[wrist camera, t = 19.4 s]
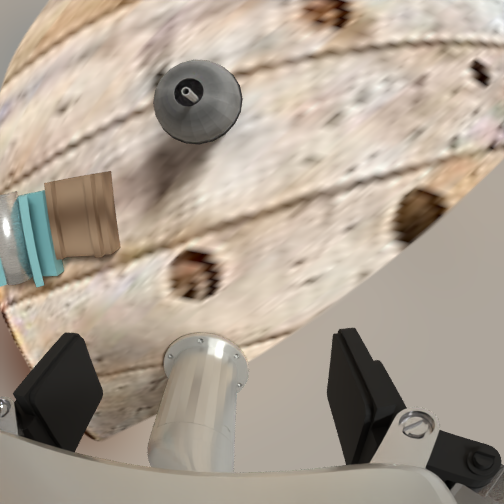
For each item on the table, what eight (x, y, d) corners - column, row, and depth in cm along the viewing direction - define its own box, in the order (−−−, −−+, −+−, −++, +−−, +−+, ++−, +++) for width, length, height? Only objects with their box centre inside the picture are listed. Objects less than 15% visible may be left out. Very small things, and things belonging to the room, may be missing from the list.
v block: (64, 270, 39) (41, 287, 33) (18, 272, 40) (-5, 286, 34) (50, 189, 36) (23, 196, 30) (4, 199, 36) (-22, 206, 30)
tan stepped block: (120, 247, 38) (107, 257, 35) (66, 250, 39) (51, 259, 35) (111, 171, 35) (96, 173, 32) (56, 180, 36) (39, 184, 32)
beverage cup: (219, 77, 32) (188, 1, 13) (257, 122, 34) (266, 83, 15) (171, 115, 34) (93, 79, 15) (208, 160, 35) (161, 165, 16)
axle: (37, 272, 37) (23, 284, 33) (16, 274, 36) (1, 285, 32) (22, 189, 33) (5, 194, 29) (1, 195, 33) (-17, 199, 28)
